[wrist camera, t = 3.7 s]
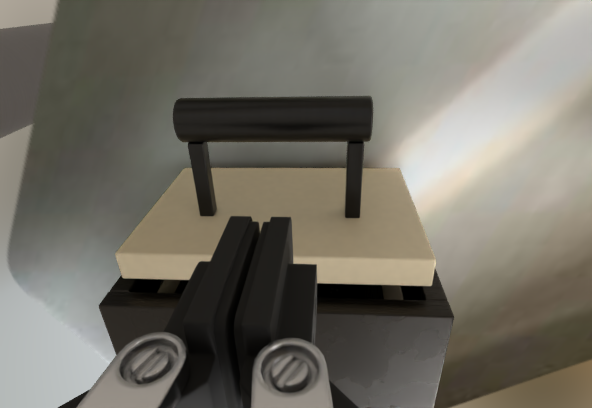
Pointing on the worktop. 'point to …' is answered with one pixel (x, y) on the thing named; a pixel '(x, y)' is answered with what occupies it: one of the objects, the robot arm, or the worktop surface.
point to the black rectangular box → (331, 338)
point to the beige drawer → (286, 200)
